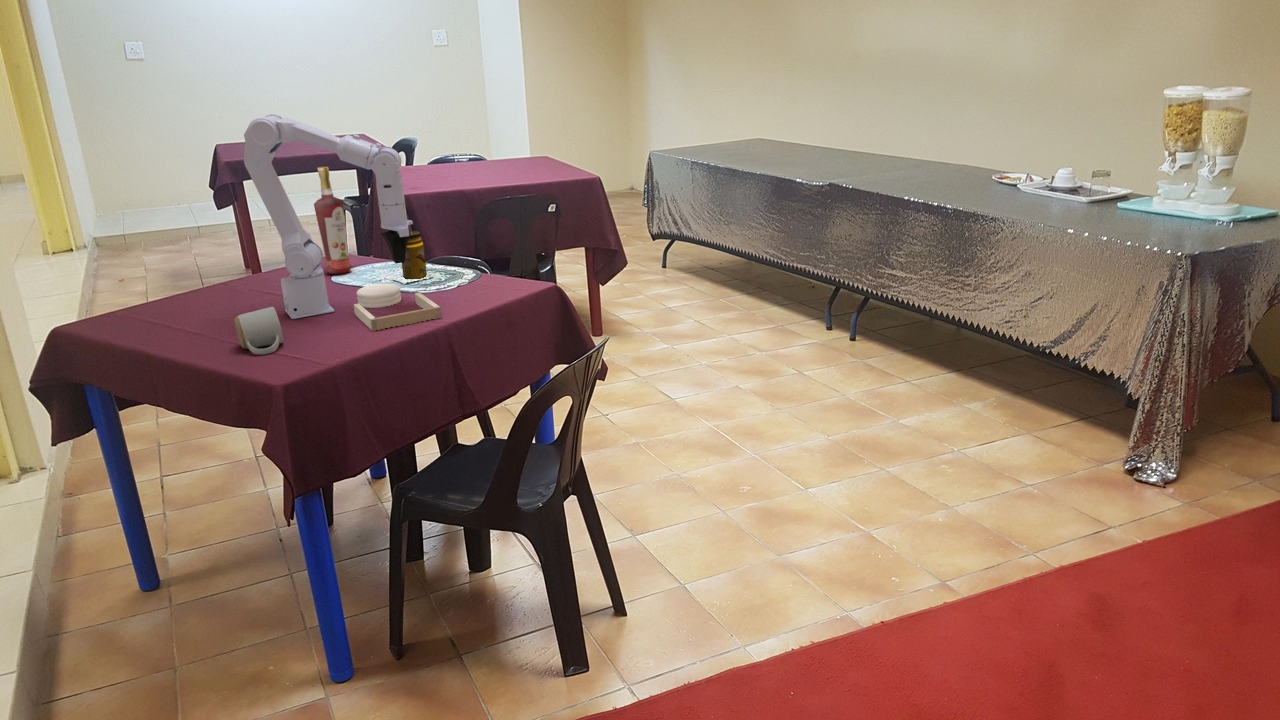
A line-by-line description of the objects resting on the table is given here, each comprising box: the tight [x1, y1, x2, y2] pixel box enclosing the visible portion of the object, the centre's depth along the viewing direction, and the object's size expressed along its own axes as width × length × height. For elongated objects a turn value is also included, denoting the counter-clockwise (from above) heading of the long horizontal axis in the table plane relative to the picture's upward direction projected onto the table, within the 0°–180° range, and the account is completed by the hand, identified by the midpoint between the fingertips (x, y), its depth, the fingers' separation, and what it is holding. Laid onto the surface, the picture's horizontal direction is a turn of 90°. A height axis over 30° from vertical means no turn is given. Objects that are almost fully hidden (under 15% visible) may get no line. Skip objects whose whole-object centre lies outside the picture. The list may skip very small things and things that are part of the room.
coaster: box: [356, 283, 402, 309], centre depth 213 cm, size 10×10×4 cm
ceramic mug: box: [233, 306, 284, 356], centre depth 183 cm, size 11×8×8 cm
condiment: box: [401, 230, 428, 279], centre depth 230 cm, size 7×8×12 cm
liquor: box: [313, 166, 353, 276], centre depth 236 cm, size 7×7×28 cm
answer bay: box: [353, 292, 443, 332], centre depth 201 cm, size 15×15×2 cm
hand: (399, 262), depth 206 cm, fingers closed
